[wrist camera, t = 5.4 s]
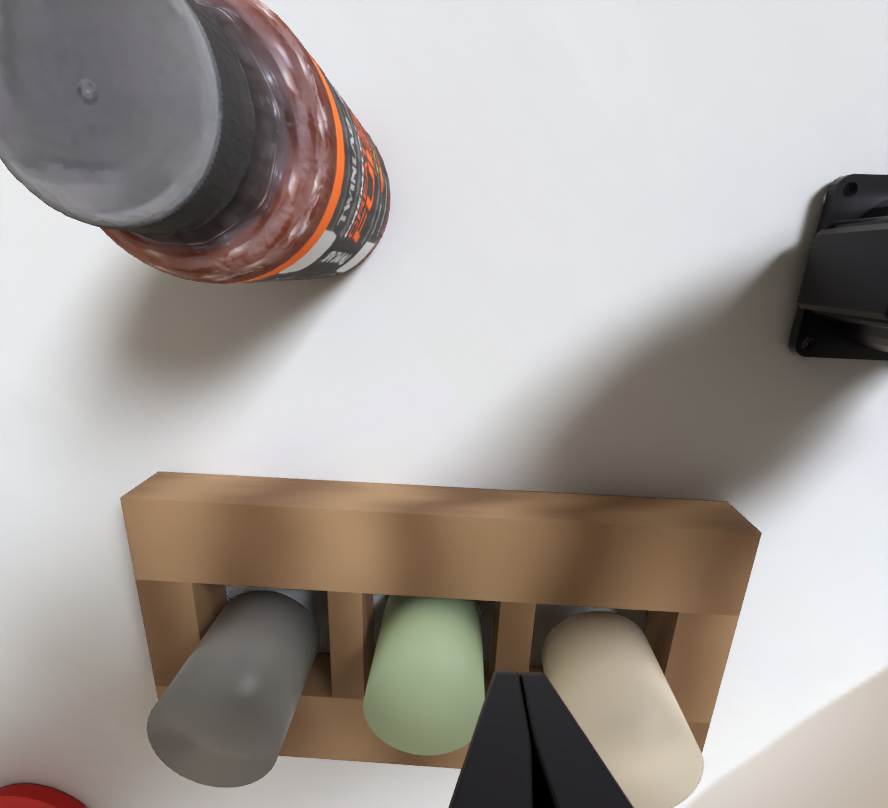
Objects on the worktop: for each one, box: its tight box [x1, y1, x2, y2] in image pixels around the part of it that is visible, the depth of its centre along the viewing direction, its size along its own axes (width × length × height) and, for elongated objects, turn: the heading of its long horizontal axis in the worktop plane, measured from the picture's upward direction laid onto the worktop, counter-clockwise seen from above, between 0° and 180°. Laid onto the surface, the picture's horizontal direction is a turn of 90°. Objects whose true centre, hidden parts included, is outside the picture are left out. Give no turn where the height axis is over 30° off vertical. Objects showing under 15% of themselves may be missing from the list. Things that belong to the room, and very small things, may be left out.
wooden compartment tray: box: [120, 472, 761, 769], centre depth 22 cm, size 26×14×2 cm, turn 88°
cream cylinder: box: [541, 611, 704, 808], centre depth 19 cm, size 5×5×5 cm
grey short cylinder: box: [147, 591, 320, 787], centre depth 19 cm, size 5×5×5 cm
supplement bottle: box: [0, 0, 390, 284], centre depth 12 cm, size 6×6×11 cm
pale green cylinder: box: [363, 595, 485, 756], centre depth 21 cm, size 5×5×5 cm
